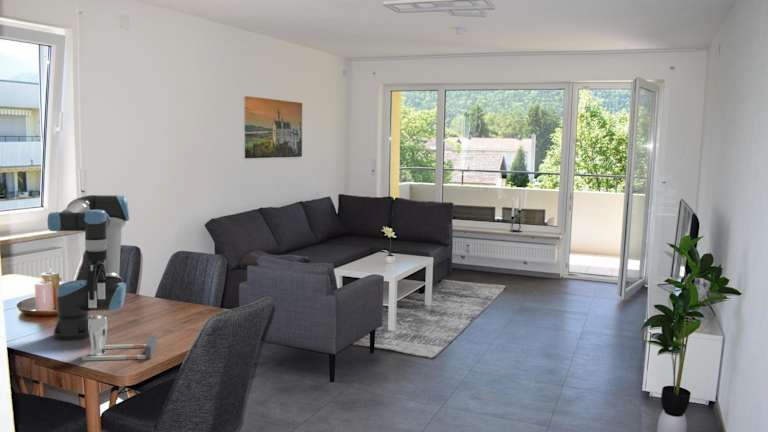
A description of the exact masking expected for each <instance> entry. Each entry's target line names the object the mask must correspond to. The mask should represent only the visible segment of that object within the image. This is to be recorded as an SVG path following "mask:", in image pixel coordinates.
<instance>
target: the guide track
mask: <svg viewBox="0 0 768 432" xmlns="http://www.w3.org/2000/svg"><path fill="white" fill-rule="evenodd" d="M157 336H158V335H157V334H151V335H150V337H149V339H148V340H147V343H135V344H128V343H127V344H105V347H106V350H110V349H113V350H116V349H144V350H145V351H144V352H145V353H144V354H126V355H125V354H123V355H103V356H91V355H89V356H87V355H86V356H82V358H81V359H82V362H83V361H107V360H108V361H110V360H112V361H113V360H114V361H115V360H149V359H152V357H153V355H154V353H155V350H156V349H157V347H158V341H157V339H158V338H157Z"/></svg>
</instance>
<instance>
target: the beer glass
mask: <svg viewBox="0 0 768 432" xmlns="http://www.w3.org/2000/svg"><path fill="white" fill-rule="evenodd" d="M88 334H89V337H88V338H89V344H90V351H89V356H106V354H107V349H106V347H105V345H106V343H107V342H106V341H107V334H108V319H107V315H105V314H94V315H91V316H88Z"/></svg>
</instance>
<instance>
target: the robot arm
mask: <svg viewBox="0 0 768 432" xmlns="http://www.w3.org/2000/svg"><path fill="white" fill-rule="evenodd" d="M128 221H130V213H129V206H128V200H127V197H126V196H124V195H116V194H115V195H101V194H100V195H98V194H97V195H95V194H94V195H93V194H90V195H84V196H81V197H77V198H75V199H73V200H72V201H70V202H69V203H68V204H67V205H66V207H65V209H63V210H62V211H60V212H58V211H55V212H49V213H48V216H47V228H48V231H50V232H57V233H59V232H84V233H85V235H84V238H85V240H84V248H85V261H88V262H90V264H89V265H88V266H87V268H88V269H87V270H88V272H87V280H86V279H77V280H70V281H66V282H64V283H62V284H59V285H58V286H57V289H56V290H57V291H56V299H57V301H56V302H57V303H56V304H57V305H56V306H57V320H56V324H55V326H54V330H53V338H54V339H55V340H59V341H77V340H81V339H82V340H83V339H86V338H89V334H88V318H89V312H97V311H98V312H99V311H100V312H101V311H102V312H103V311H109V312H110V311H114V310H116V311H117V310H120V309H122V308H123V305H124V304H125V299H126V294H127V291H126V290H127V283H125V282H124V281H123V278H122V277H121V276H120V268H121V266H120V265H121V248H122V247H121V246H122V245H121V244H122V228H123V227H125V226H126V222H128Z"/></svg>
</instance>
